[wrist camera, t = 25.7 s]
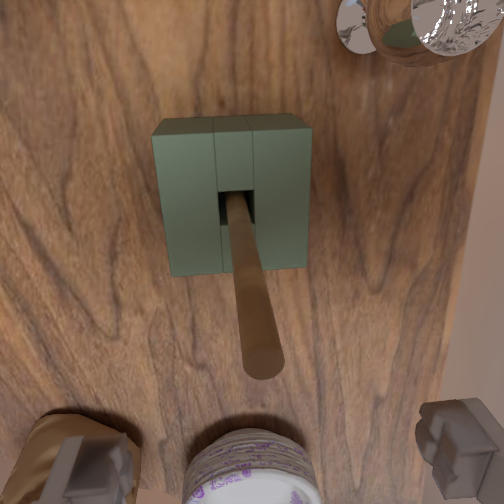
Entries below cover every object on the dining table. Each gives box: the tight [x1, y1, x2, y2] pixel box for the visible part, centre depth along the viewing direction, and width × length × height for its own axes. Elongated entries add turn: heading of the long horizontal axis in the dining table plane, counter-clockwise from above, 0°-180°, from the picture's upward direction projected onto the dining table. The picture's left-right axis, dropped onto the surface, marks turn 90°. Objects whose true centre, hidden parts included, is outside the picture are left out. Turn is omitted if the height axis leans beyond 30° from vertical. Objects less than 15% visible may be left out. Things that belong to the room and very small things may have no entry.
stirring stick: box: [225, 190, 285, 380], centre depth 23 cm, size 1×1×22 cm
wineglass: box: [336, 0, 504, 67], centre depth 23 cm, size 6×6×12 cm
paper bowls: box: [182, 428, 322, 504], centre depth 45 cm, size 15×15×8 cm
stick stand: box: [151, 113, 313, 277], centre depth 29 cm, size 10×10×7 cm
